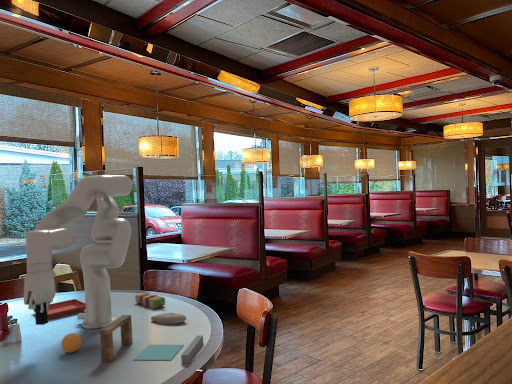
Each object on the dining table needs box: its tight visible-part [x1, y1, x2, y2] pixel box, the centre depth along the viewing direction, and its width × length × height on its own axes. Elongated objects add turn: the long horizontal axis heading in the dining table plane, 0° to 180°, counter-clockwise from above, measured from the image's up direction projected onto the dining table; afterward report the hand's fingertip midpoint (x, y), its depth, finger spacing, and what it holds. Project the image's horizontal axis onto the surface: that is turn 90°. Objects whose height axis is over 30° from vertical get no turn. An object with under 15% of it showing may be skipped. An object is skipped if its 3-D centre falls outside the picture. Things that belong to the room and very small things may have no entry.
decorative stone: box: [150, 312, 187, 325], centre depth 162 cm, size 6×16×3 cm, turn 73°
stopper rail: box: [180, 335, 204, 365], centre depth 130 cm, size 2×16×2 cm, turn 171°
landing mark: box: [133, 344, 185, 362], centre depth 131 cm, size 12×12×1 cm
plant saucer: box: [47, 298, 86, 320], centre depth 184 cm, size 18×18×3 cm
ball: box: [60, 332, 82, 354], centre depth 136 cm, size 6×6×6 cm
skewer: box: [134, 292, 166, 309], centre depth 187 cm, size 21×6×5 cm, turn 46°
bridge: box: [99, 314, 133, 363], centre depth 133 cm, size 3×15×10 cm, turn 171°
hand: (41, 323), depth 136 cm, fingers closed
